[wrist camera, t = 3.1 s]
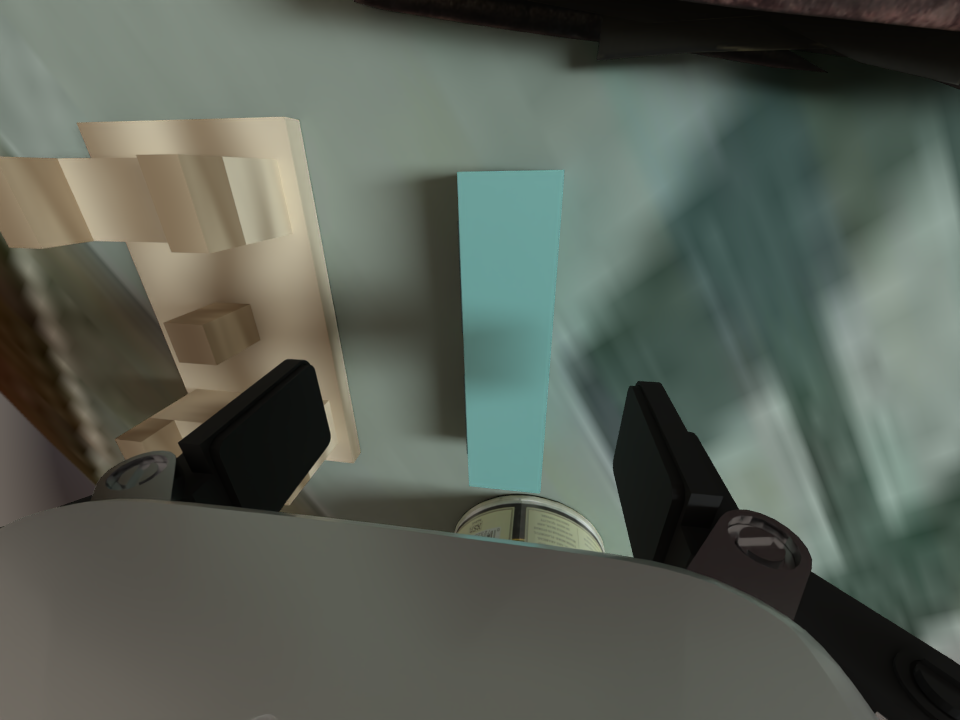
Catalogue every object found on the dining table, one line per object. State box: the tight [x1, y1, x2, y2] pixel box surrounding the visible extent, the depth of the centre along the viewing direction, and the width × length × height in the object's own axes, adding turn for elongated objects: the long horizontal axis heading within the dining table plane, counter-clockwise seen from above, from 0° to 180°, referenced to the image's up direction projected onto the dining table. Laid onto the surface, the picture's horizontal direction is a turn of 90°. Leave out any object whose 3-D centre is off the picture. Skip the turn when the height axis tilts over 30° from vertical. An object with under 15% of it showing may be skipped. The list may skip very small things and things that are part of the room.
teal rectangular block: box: [457, 170, 564, 493], centre depth 17 cm, size 4×14×4 cm, turn 1°
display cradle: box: [0, 117, 361, 505], centre depth 18 cm, size 10×18×6 cm, turn 0°
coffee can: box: [454, 495, 605, 553], centre depth 19 cm, size 10×10×14 cm
